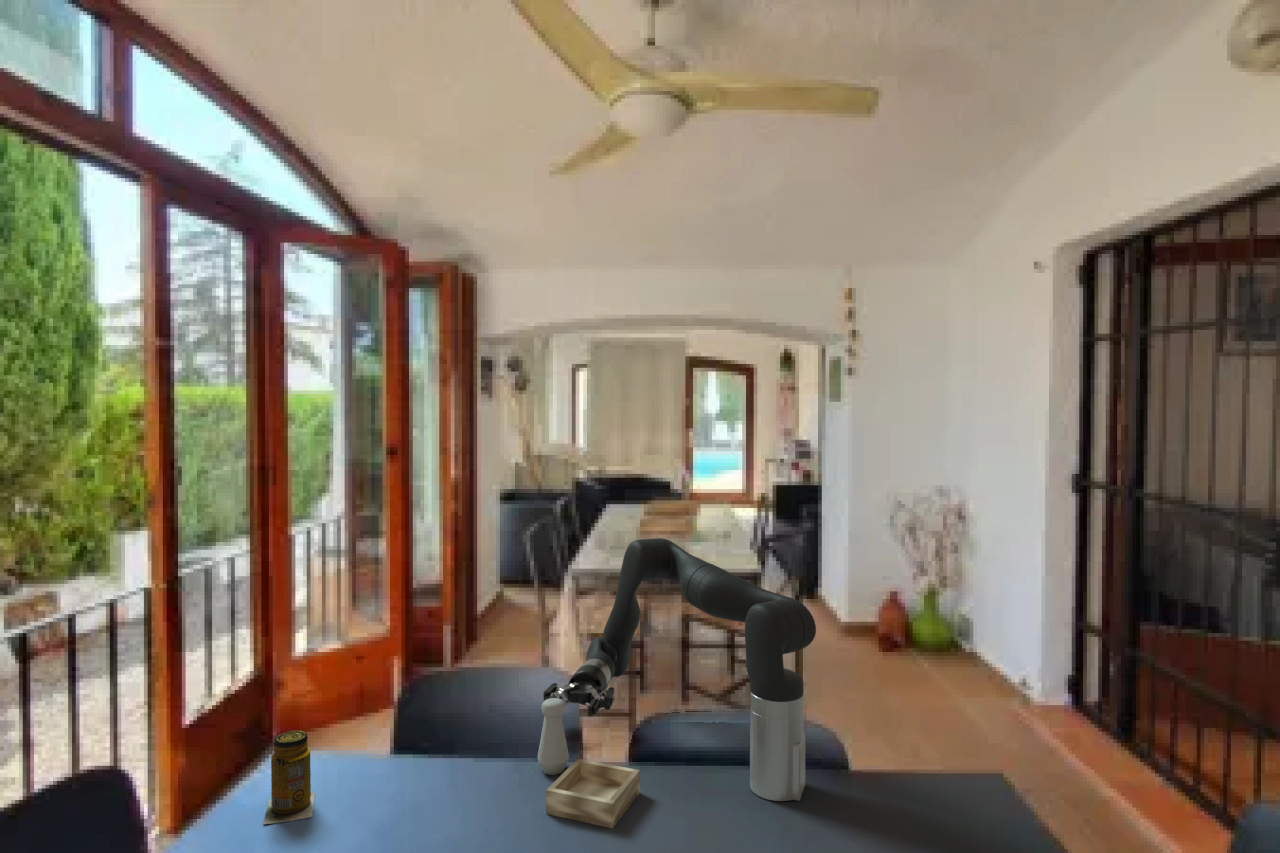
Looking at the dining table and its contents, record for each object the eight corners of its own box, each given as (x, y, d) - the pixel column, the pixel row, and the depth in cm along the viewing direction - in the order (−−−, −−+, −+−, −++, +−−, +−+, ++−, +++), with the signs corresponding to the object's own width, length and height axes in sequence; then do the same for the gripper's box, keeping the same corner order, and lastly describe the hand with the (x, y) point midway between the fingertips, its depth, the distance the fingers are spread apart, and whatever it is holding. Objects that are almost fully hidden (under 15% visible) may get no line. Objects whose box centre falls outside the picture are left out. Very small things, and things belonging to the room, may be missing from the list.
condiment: (315, 793, 133) (314, 725, 132) (312, 817, 125) (311, 745, 124) (268, 800, 130) (267, 731, 130) (262, 826, 122) (261, 752, 122)
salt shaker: (563, 778, 138) (563, 708, 137) (533, 775, 139) (533, 705, 138) (572, 764, 143) (572, 695, 143) (543, 761, 144) (543, 693, 144)
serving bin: (639, 792, 133) (639, 770, 133) (612, 828, 121) (612, 803, 121) (577, 780, 137) (577, 758, 137) (546, 813, 126) (546, 790, 126)
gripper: (559, 662, 168) (535, 688, 153) (622, 666, 166) (604, 693, 150) (559, 695, 169) (535, 725, 153) (622, 700, 166) (604, 731, 150)
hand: (569, 709), depth 151 cm, fingers open, 8 cm apart
